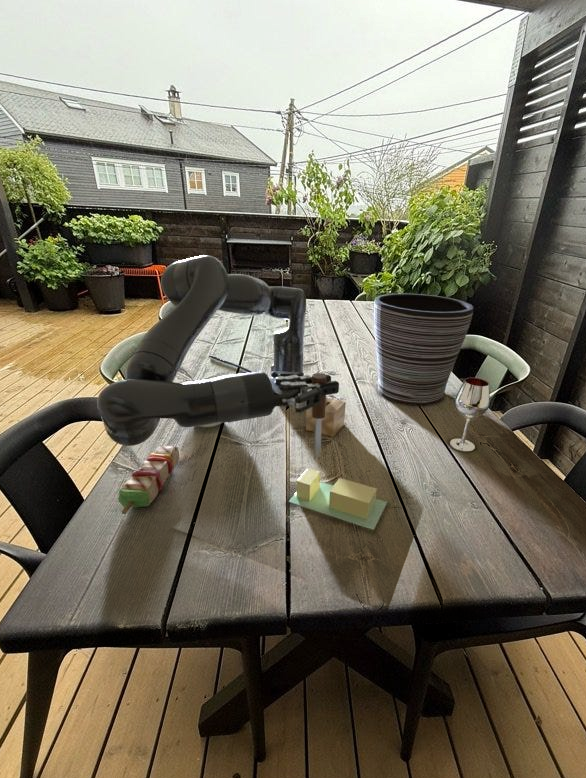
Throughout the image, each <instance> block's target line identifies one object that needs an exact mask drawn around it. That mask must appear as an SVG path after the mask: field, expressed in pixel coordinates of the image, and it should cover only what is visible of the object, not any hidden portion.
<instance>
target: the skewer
mask: <svg viewBox="0 0 586 778" xmlns="http://www.w3.org/2000/svg"><path fill="white" fill-rule="evenodd" d="M179 461H180V450H179V448H178V447H177V446H173V445H163V444H162V445H159V446H157V448H156V449H155V450H154V451H153V452H152V453H149V455H148V458H146V460H144V462H143V463H142V464H141V466H140V467H139V468H138V470H134V471H133V473H131V476H130V477H129V478H128V480H127V481H125V483H124V484H123V485H122V486H121V488H120V489H119V490H118V502H119V503H120V505H121V506H122V507H123V509H122V510H121V514H122V515H126V514H127V512H128V511H130V508H137V507H139V508H140V507H141V508H142V507H143V508H145V507H149V506H150V504H151V503H153V501H154V500H155V498H156V497H157V495H158V494H159V492H161V490H162V489H164V487H165V482H166V481H167V479H168V478H169V477H170V475H172V473H173V470H175V466H176V464H177V463H178V462H179Z"/></svg>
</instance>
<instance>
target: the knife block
mask: <svg viewBox="0 0 586 778" xmlns="http://www.w3.org/2000/svg"><path fill="white" fill-rule="evenodd" d="M346 403H347V401H344V400H339V399H334V398H329V397H326V411H325V417H324V418H322V425H321V435H324V436H327V437H333V438H334V436H336V434H337V433H338V432H339V431H340V430H341V429H342V428H343V426H344V425H345V420H346V419H345V418H346V405H347V404H346ZM311 409H312V407H311V408H309V409H307V410H305V413H306V415H305V418H306V419H305V430H306V431H309V432H313V433H315V418H313V417H312V416H311Z"/></svg>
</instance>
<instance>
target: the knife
mask: <svg viewBox="0 0 586 778" xmlns="http://www.w3.org/2000/svg"><path fill="white" fill-rule="evenodd" d="M326 375H327V374H325V373H322V372H316V373H313V374H311V377H312V384H315V383H318V384H319V383H323V382H327V376H326ZM326 398H327V395H323V396H321V403H319V404H317V405H315V406H313V407H312V409H311V416H312V417H313V418H315V432H313V434H314V437H313V438H314V440H313V460H317V458H318V457H319V456H320V455H321V454H322V434H321V425H322V418H324V417H325V411H326Z"/></svg>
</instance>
